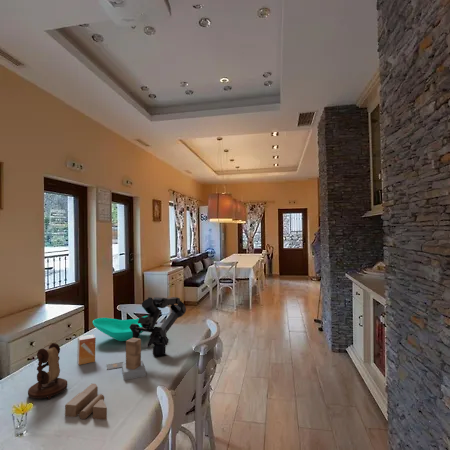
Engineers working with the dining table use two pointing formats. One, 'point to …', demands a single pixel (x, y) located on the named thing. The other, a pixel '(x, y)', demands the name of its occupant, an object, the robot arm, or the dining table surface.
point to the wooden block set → (87, 404)
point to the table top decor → (116, 327)
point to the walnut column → (133, 353)
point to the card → (114, 365)
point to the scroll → (48, 374)
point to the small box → (86, 349)
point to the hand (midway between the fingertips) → (140, 345)
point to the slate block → (133, 371)
